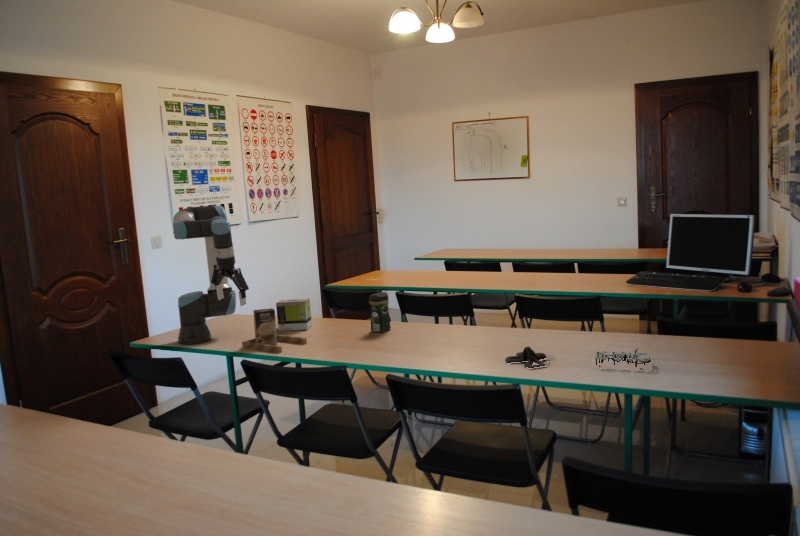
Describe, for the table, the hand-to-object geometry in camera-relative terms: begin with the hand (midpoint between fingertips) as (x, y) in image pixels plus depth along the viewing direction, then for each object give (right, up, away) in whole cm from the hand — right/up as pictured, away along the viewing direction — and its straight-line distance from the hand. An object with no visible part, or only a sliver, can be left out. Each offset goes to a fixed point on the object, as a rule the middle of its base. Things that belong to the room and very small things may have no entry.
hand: (232, 301), depth 252 cm
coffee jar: (+63, -16, +28) cm, 71 cm away
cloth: (+122, -21, -33) cm, 129 cm away
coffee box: (+12, -21, +14) cm, 28 cm away
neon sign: (+155, -20, -37) cm, 160 cm away
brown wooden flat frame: (+17, -20, +11) cm, 29 cm away
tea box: (+20, -16, +44) cm, 51 cm away
